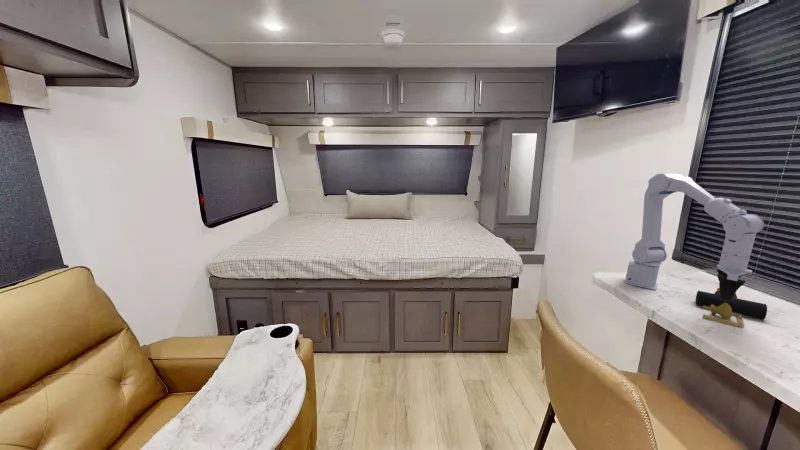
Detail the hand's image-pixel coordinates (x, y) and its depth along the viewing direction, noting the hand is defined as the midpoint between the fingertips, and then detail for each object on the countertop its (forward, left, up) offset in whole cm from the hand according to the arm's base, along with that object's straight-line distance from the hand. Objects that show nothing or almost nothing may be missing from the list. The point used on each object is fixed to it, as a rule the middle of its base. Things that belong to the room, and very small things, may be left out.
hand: (724, 295), depth 92 cm
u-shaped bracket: (0, 0, -7) cm, 7 cm away
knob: (0, 0, -8) cm, 8 cm away
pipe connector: (+2, +11, -8) cm, 13 cm away
